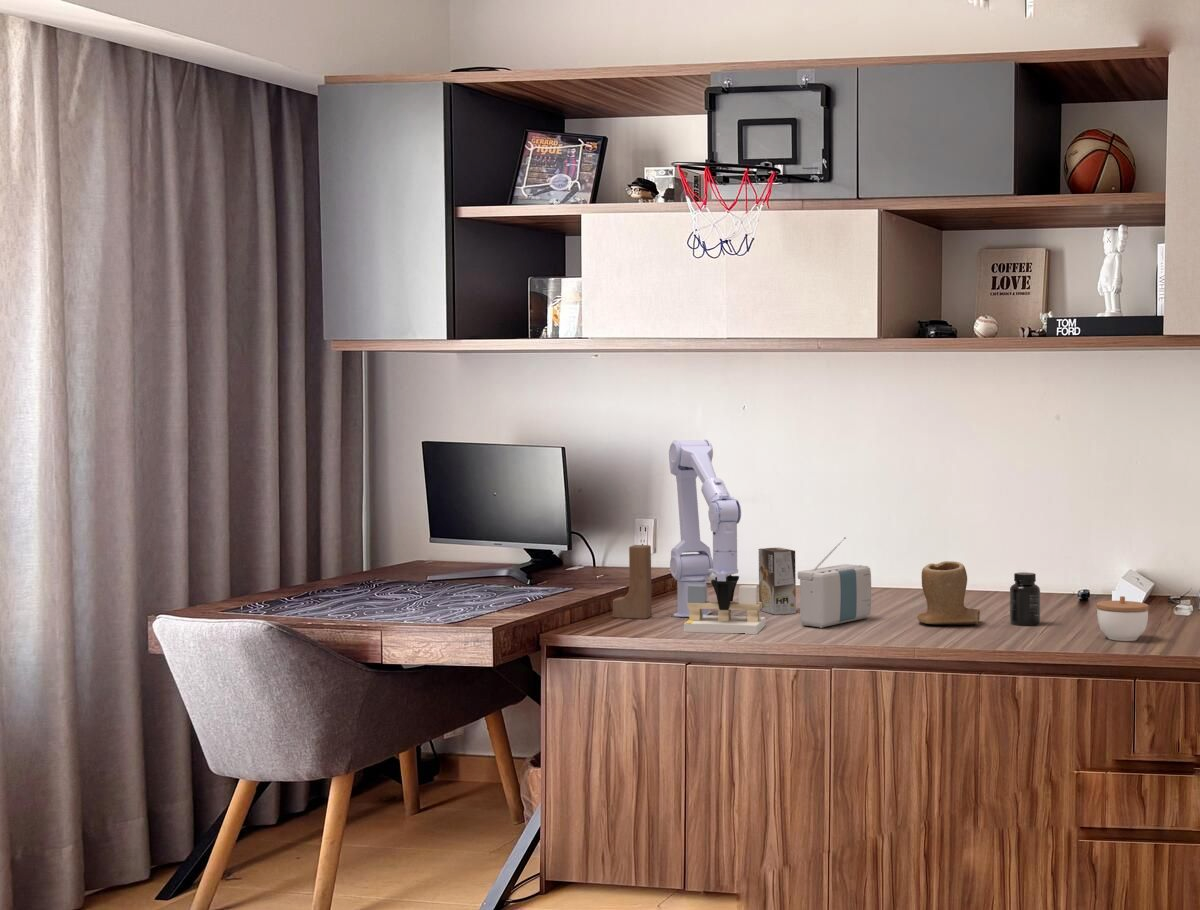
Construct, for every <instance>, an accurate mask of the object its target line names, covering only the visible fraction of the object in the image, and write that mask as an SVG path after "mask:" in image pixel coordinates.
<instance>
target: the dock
mask: <svg viewBox="0 0 1200 910" xmlns="http://www.w3.org/2000/svg"><path fill="white" fill-rule="evenodd" d="M766 624H767V623H766V616H760V619H759V621H758V622H747V616H739V615H737V616H735V615H731V619H730V620H729V621H718V615H709V614H708V615H703V617H702V618H701V620H700V621H697V620H689V619H688V620H686V621H685V622H684V623H683V633H708V634H709V633H711V634H733V633H745V634H744V635H757V634H758V633H760V632H761V630H763V629H764V627H765V625H766Z"/></svg>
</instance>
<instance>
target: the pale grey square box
mask: <svg viewBox="0 0 1200 910" xmlns="http://www.w3.org/2000/svg"><path fill="white" fill-rule="evenodd" d="M707 588H708V584H707V583H706V584H690V585H688V603H706V601H707Z"/></svg>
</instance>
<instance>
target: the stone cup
mask: <svg viewBox="0 0 1200 910" xmlns="http://www.w3.org/2000/svg"><path fill="white" fill-rule="evenodd" d="M967 586H968V573H967V570H966V567H965V565H964V564H963V563H961V562H959V561H954V560H952V561H948V560H947V561H946V560H945V561H941V562H939V563H928V564H926V565H925V566H924V567H923V568H922V569H921V588H922V591H923V594H924V597H925V599H926V605H927V606H926V607H927V610H926V611H925V612H922V613H919V614H918V615H917V616H916V619H917V621H919V622H921V623H923V624H928V625H940V626H941V625H944V626H945V625H946V626H947V625H949V626H950V625H951V626H956V625H958V626H962V625H963V626H964V625H966V626H967V625H978V624H979V622H980V614H981V610H980V608H979V609H978V608H967V607H966V606H965V595H966V591H967Z"/></svg>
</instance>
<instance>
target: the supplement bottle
mask: <svg viewBox="0 0 1200 910" xmlns="http://www.w3.org/2000/svg"><path fill="white" fill-rule="evenodd" d="M1013 574H1014V575H1013V577H1014V578H1013V582H1014V583H1013V584H1012V585H1011V586H1009V622H1010V624H1011V625H1014V626H1022V627H1035V626H1039V625H1040V624H1041V588H1040V586H1038V585H1037V584H1036V581H1037V580H1036V573H1035V572H1034V573H1033V572H1027V571H1026V572H1022V571H1021V572H1014V573H1013Z"/></svg>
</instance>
